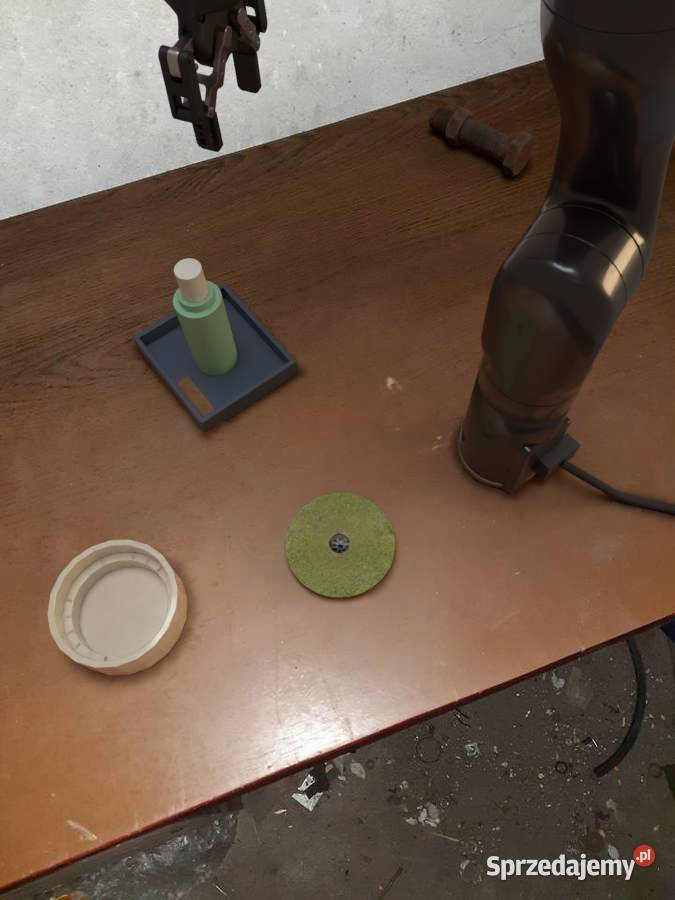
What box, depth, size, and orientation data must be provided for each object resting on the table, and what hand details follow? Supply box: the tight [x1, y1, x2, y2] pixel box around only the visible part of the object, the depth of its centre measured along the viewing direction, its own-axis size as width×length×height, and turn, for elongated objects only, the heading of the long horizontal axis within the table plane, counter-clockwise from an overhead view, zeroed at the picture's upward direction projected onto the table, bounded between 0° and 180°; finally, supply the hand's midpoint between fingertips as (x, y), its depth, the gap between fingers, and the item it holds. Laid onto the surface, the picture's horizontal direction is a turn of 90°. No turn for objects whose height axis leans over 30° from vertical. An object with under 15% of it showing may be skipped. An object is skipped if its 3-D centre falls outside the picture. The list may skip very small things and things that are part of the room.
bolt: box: [427, 105, 535, 178], centre depth 97 cm, size 6×5×15 cm
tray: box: [132, 282, 299, 433], centre depth 82 cm, size 15×13×2 cm
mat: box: [284, 492, 396, 598], centre depth 71 cm, size 11×11×2 cm
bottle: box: [172, 257, 238, 376], centre depth 76 cm, size 5×5×16 cm
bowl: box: [46, 539, 189, 676], centre depth 68 cm, size 12×12×5 cm
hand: (231, 117), depth 64 cm, fingers open, 8 cm apart
